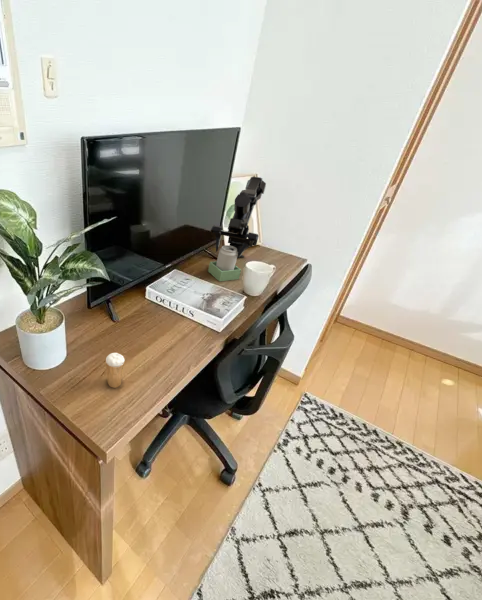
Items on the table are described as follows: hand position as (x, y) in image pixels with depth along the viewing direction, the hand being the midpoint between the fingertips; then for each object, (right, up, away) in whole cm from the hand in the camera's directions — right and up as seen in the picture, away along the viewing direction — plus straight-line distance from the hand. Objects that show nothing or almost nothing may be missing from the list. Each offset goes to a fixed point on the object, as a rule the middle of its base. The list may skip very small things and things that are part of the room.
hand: (227, 253), depth 129 cm
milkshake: (-44, -40, -48) cm, 76 cm away
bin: (0, -8, +7) cm, 10 cm away
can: (0, -8, +7) cm, 10 cm away
